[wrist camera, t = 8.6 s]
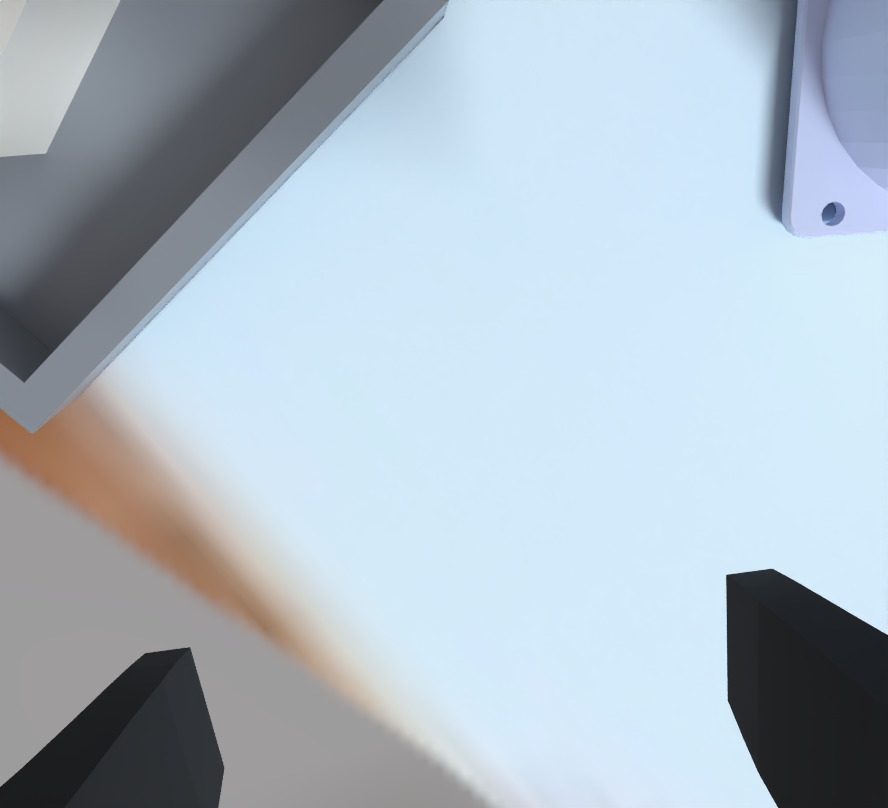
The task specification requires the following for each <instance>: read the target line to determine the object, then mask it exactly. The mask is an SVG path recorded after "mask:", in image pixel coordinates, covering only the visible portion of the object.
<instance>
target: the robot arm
mask: <svg viewBox="0 0 888 808" xmlns="http://www.w3.org/2000/svg"><path fill="white" fill-rule="evenodd" d="M832 202H833V204H834V205H835V207H836V213H835V216H834V218H833V219H832V220H831V221H830V222H829V223H826V224H825V223H824V222H823V221H822V216H821V214H822V211H823V209H824V208H825V207H826V206H827V205H828V204H829V203H832ZM782 222H783V225H784V227H785V229H786V230H787V231H788V232H789V233H791V234H792V235H794V236H798V237H803V238H817V237H831V236H845V235H858V234H872V233H886V232H888V0H798V6H797V19H796V32H795V46H794V59H793V72H792V86H791V99H790V112H789V125H788V139H787V152H786V165H785V178H784V192H783V205H782ZM726 588H727V677H728V702H729V704H730V707H731V709H732V712H733V714H734V717H735V719H736V722H737V724H738V726H739V729H740V731H741V734H742V736H743V739H744V741H745V743H746V746H747V748H748V750H749V752H750V755H751V757H752V759H753V762H754V764H755V766H756V768H757V771H758V773H759V774H760V776H761V778H762V780H763V782H764V784H765V785H766V787H767V789H768V791H769V792H770V794H771V796H772V798H773V800H774V801H775V803H776V805H777V807H778V808H888V635H887V634H885V633H883V632H881V631H880V630H878V629H876V628H874V627H873V626H871V625H869V624H868V623H866V622H864V621H862V620H861V619H859V618H857V617H856V616H854V615H852V614H850V613H849V612H847V611H845V610H844V609H842V608H840V607H839V606H837V605H835V604H833V603H832V602H830V601H828V600H827V599H825V598H823V597H822V596H820V595H818V594H816V593H815V592H813V591H811V590H810V589H808V588H806V587H804V586H803V585H801V584H799V583H798V582H796V581H794V580H792V579H790V578H789V577H787V576H785V575H783V574H781V573H779V572H777V571H776V570H774V569H767V570H759V571H752V572H744V573H737V574H730V575H726ZM223 773H224V765H223V762H222V758H221V754H220V751H219V747H218V744H217V740H216V737H215V733H214V730H213V726H212V723H211V719H210V716H209V712H208V709H207V705H206V701H205V698H204V695H203V691H202V688H201V684H200V681H199V677H198V674H197V670H196V666H195V663H194V659H193V656H192V652H191V649H190V647H189V648H181V649H174V650H166V651H159V652H152V653H145V654H144V655H143V656H141V657H140V658H139V659H138V660H137V661H135V662H134V663H133V664H132V665H131V666H130V667H129V668H128V669H126V670H125V671H124V672H123V673H122V674H121V675H120V676H119V677H118V678H117V679H116V680H115V681H114V682H113V683H111V684H110V685H109V686H108V687H107V688H106V689H105V690H104V691H103V692H102V693H101V694H100V695H99V696H98V697H97V698H96V699H95V700H94V701H93V702H91V704H89V705H88V706H87V707H86V708H85V709H84V710H83V711H82V712H81V713H80V714H79V715H78V716H77V717H76V718H75V719H74V720H73V721H72V722H70V723H69V724H68V725H67V726H66V727H65V728H64V729H63V730H62V731H61V732H60V733H59V734H58V735H57V736H56V737H55V738H54V739H52V740H51V741H50V742H49V743H48V744H47V745H46V746H45V747H44V748H43V749H42V750H41V751H40V752H39V753H38V754H37V755H36V756H34V758H32V759H31V760H30V761H29V762H28V763H27V764H26V765H25V766H24V767H23V768H22V769H20V770H19V771H18V772H17V773H16V774H15V775H14V776H12V777H11V778H10V779H9V780H8V781H7V782H6V783H4V784H3V785H2V786H1V787H0V808H218V805H219V799H220V792H221V786H222V780H223Z"/></svg>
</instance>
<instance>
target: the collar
mask: <svg viewBox="0 0 888 808" xmlns="http://www.w3.org/2000/svg"><path fill="white" fill-rule="evenodd" d="M119 2H120V0H0V157H6V156H19V155H33V154H46V152H47V150H48V148H49V146H50V144H51V142H52V140H53V138H54V136H55V134H56V132H57V130H58V128H59V126H60V124H61V121H62V119H63V117H64V115H65V113H66V111H67V109H68V107H69V105H70V103H71V101H72V99H73V97H74V95H75V93H76V91H77V89H78V87H79V84H80V82H81V80H82V78H83V76H84V74H85V72H86V70H87V68H88V66H89V64H90V62H91V60H92V58H93V56H94V54H95V52H96V50H97V48H98V45H99V43H100V41H101V39H102V37H103V35H104V33H105V31H106V29H107V27H108V25H109V23H110V21H111V19H112V17H113V15H114V13H115V11H116V8H117V6H118V4H119Z"/></svg>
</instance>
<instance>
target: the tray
mask: <svg viewBox="0 0 888 808" xmlns="http://www.w3.org/2000/svg"><path fill="white" fill-rule="evenodd" d="M448 2H449V0H120V2H119V4H118V6H117V8H116V11H115V13H114V15H113V17H112V19H111V21H110V23H109V25H108V27H107V29H106V31H105V33H104V35H103V37H102V39H101V41H100V43H99V45H98V48H97V50H96V52H95V54H94V56H93V58H92V60H91V62H90V64H89V66H88V68H87V70H86V72H85V74H84V76H83V78H82V80H81V82H80V84H79V87H78V89H77V91H76V93H75V95H74V97H73V99H72V101H71V103H70V105H69V107H68V109H67V111H66V113H65V115H64V117H63V119H62V121H61V124H60V126H59V128H58V130H57V132H56V134H55V136H54V138H53V140H52V142H51V144H50V146H49V148H48V150H47V152H46V154H33V155H19V156H6V157H0V409H2V410H3V411H4V412H5V413H7V414H8V415H9V416H10V417H11V418H13V419H14V420H15V421H16V422H18V423H19V424H20V425H21V426H23V427H24V428H25V429H26V430H28V431H29V432H30V433H31V434H33V433H34V432H35V431H37V430H38V429H39V428H40V427H42V426H43V425H44V424H45V423H46V422H48V421H49V420H50V419H51V418H53V417H54V416H55V415H56V414H58V413H59V412H60V411H61V410H62V409H64V408H65V407H66V406H67V405H69V404H70V403H71V402H72V401H74V400H75V399H76V398H77V397H78V396H79V395H80V394H81V393H82V392H83V391H84V390H85V389H86V388H87V387H88V386H89V385H90V384H91V383H92V382H93V381H94V380H95V379H96V378H97V377H98V375H99V374H100V373H101V372H102V371H103V370H104V369H105V368H106V367H107V366H108V365H109V364H110V363H111V362H112V361H113V360H114V359H115V358H116V357H117V356H118V355H119V354H120V353H121V352H122V351H123V350H124V349H125V348H126V346H127V345H128V344H129V343H130V342H131V341H132V340H133V339H134V338H135V337H136V336H137V335H138V334H139V333H140V332H141V331H142V330H143V329H144V328H145V327H146V326H147V325H148V324H149V323H150V322H151V321H152V320H153V318H154V317H155V316H156V315H157V314H158V313H159V312H160V311H161V310H162V309H163V308H164V307H165V306H166V305H167V304H168V303H169V302H170V301H171V300H172V299H173V298H174V297H175V296H176V295H177V294H178V293H179V292H180V290H181V289H182V288H183V287H184V286H185V285H186V284H187V283H188V282H189V281H190V280H191V279H192V278H193V277H194V276H195V275H196V274H197V273H198V272H199V271H200V270H201V269H202V268H203V267H204V266H205V265H206V264H207V262H208V261H209V260H210V259H211V258H212V257H213V256H214V255H215V254H216V253H217V252H218V251H219V250H220V249H221V248H222V247H223V246H224V245H225V244H226V243H227V242H228V241H229V240H230V239H231V238H232V237H233V236H234V235H235V233H236V232H237V231H238V230H239V229H240V228H241V227H242V226H243V225H244V224H245V223H246V222H247V221H248V220H249V219H250V218H251V217H252V216H253V215H254V214H255V213H256V212H257V211H258V210H259V209H260V208H261V207H262V205H263V204H264V203H265V202H266V201H267V200H268V199H269V198H270V197H271V196H272V195H273V194H274V193H275V192H276V191H277V190H278V189H279V188H280V187H281V186H282V185H283V184H284V183H285V182H286V181H287V180H288V179H289V177H290V176H291V175H292V174H293V173H294V172H295V171H296V170H297V169H298V168H299V167H300V166H301V165H302V164H303V163H304V162H305V161H306V160H307V159H308V158H309V157H310V156H311V155H312V154H313V153H314V152H315V151H316V150H317V148H318V147H319V146H320V145H321V144H322V143H323V142H324V141H325V140H326V139H327V138H328V137H329V136H330V135H331V134H332V133H333V132H334V131H335V130H336V129H337V128H338V127H339V126H340V125H341V124H342V123H343V122H344V120H345V119H346V118H347V117H348V116H349V115H350V114H351V113H352V112H353V111H354V110H355V109H356V108H357V107H358V106H359V105H360V104H361V103H362V102H363V101H364V100H365V99H366V98H367V97H368V96H369V95H370V94H371V92H372V91H373V90H374V89H375V88H376V87H377V86H378V85H379V84H380V83H381V82H382V81H383V80H384V79H385V78H386V77H387V76H388V75H389V74H390V73H391V72H392V71H393V70H394V69H395V68H396V67H397V66H398V64H399V63H400V62H401V61H402V60H403V59H404V58H405V57H406V56H407V55H408V54H409V53H410V52H411V51H412V50H413V49H414V48H415V47H416V46H417V45H418V44H419V43H420V42H421V41H422V40H423V39H424V38H425V37H426V35H427V34H428V33H429V32H430V31H431V30H432V29H433V28H434V27H435V26H436V25H437V24H438V23H439V22H440V21H441V20H442V19H443V18H444V15H445V11H446V8H447V5H448Z"/></svg>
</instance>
